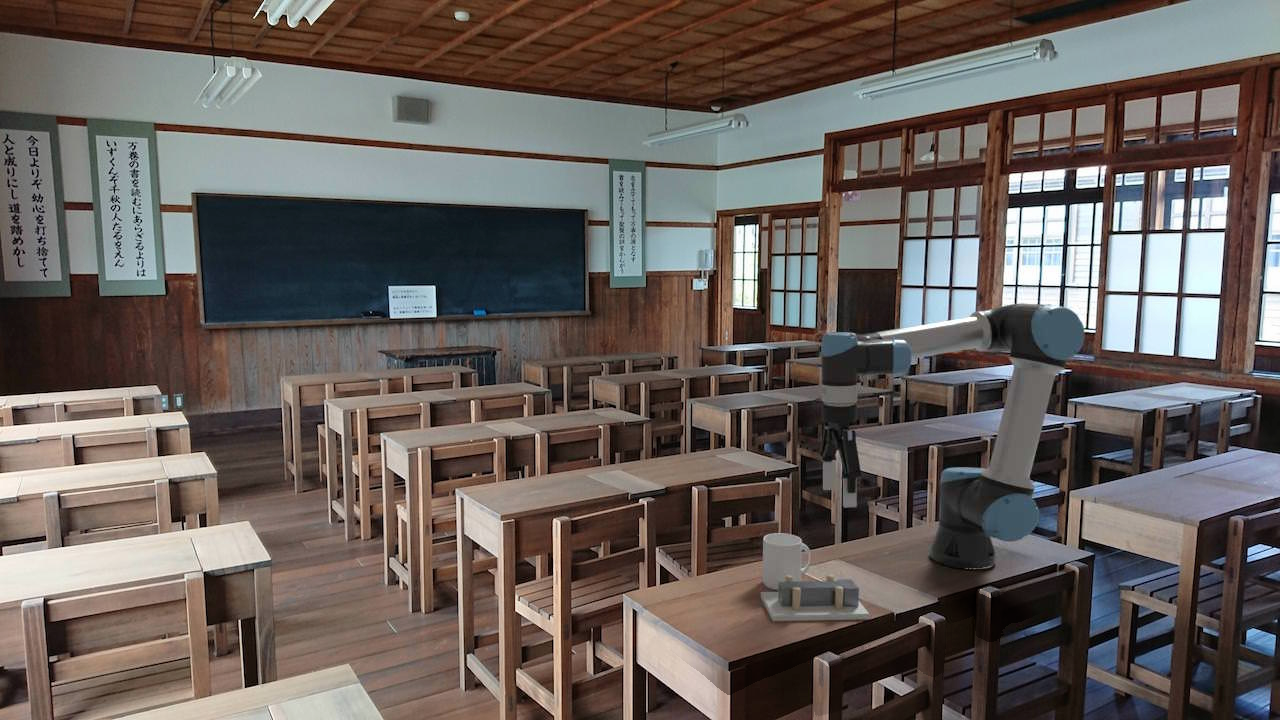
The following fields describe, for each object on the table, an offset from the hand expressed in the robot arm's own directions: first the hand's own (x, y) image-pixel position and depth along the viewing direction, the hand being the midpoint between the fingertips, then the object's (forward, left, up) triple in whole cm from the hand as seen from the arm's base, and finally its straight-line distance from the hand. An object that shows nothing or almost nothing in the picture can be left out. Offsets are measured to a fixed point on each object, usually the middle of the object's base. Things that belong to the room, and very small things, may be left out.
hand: (839, 498), depth 177 cm
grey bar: (+7, +9, -20) cm, 23 cm away
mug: (+10, -4, -21) cm, 24 cm away
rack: (+8, +9, -21) cm, 24 cm away
